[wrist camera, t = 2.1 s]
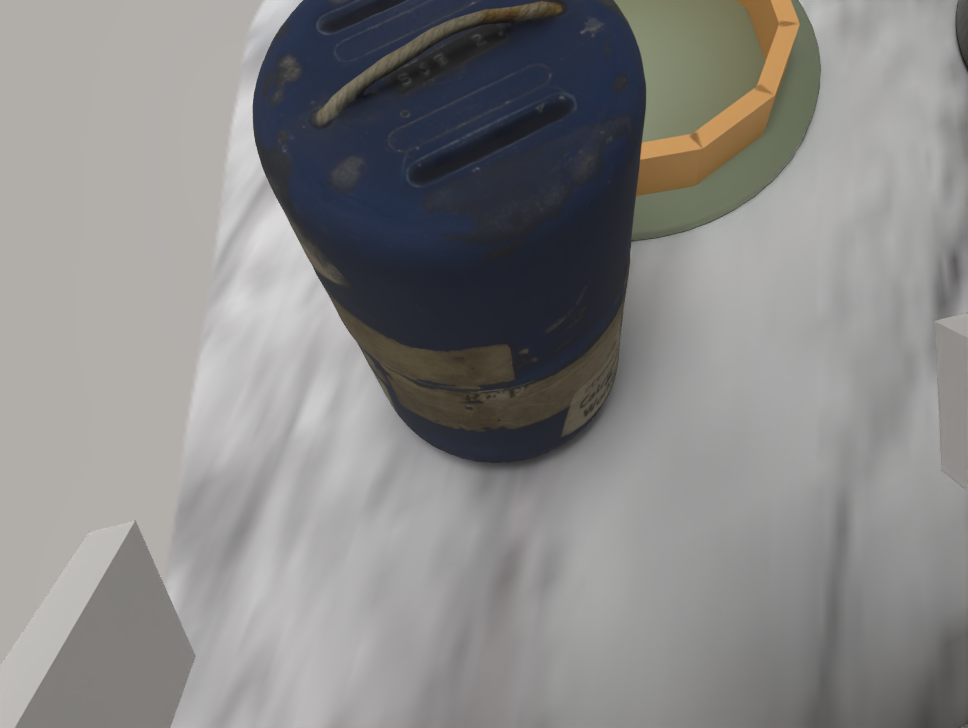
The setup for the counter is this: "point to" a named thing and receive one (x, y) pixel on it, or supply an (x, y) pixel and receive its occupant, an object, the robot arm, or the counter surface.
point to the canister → (465, 201)
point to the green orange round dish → (718, 104)
